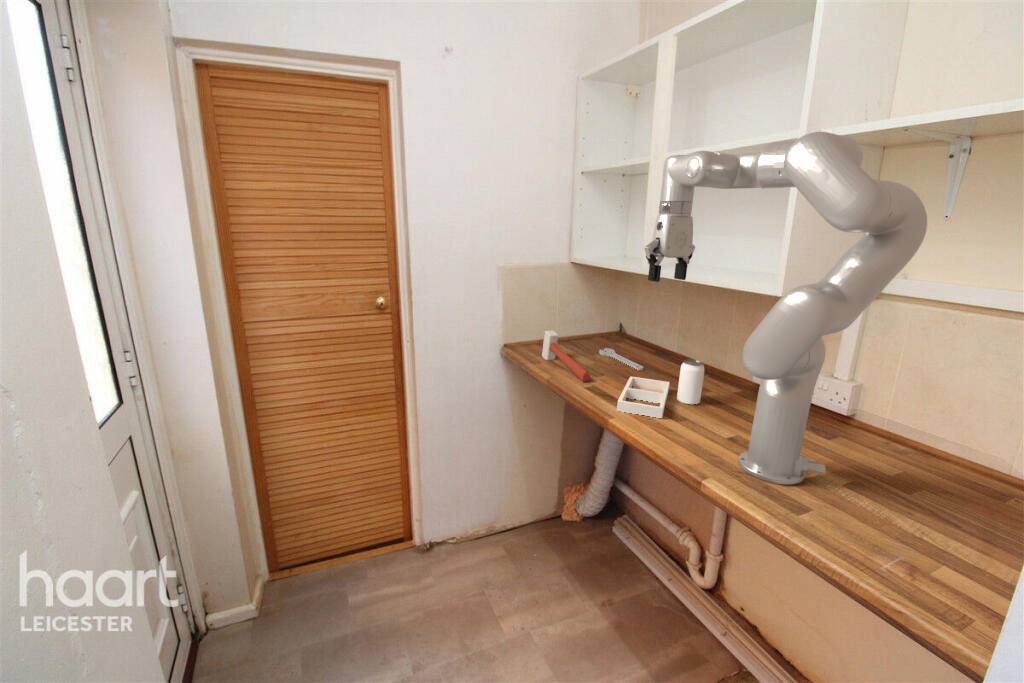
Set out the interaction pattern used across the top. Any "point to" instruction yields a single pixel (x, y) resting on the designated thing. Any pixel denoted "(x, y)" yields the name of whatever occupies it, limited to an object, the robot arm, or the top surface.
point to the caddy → (644, 396)
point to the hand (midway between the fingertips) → (666, 280)
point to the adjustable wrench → (619, 358)
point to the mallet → (561, 355)
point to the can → (690, 382)
